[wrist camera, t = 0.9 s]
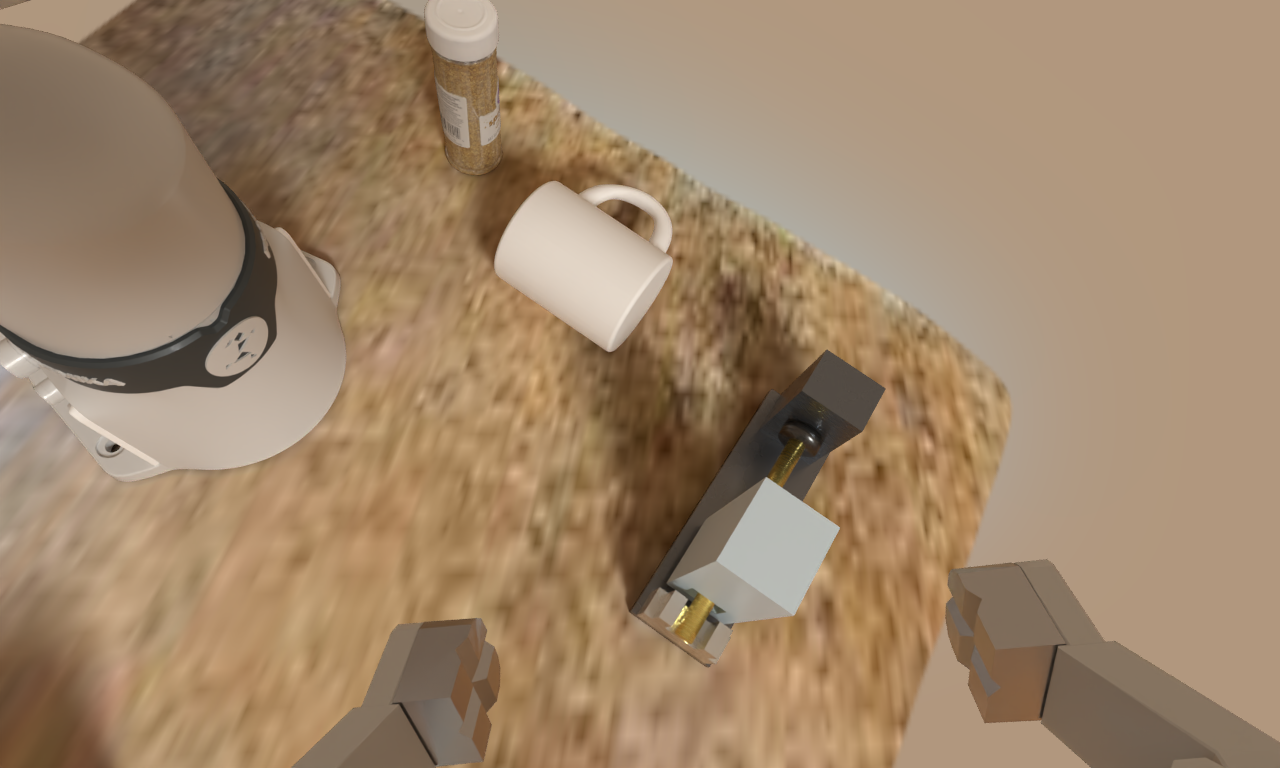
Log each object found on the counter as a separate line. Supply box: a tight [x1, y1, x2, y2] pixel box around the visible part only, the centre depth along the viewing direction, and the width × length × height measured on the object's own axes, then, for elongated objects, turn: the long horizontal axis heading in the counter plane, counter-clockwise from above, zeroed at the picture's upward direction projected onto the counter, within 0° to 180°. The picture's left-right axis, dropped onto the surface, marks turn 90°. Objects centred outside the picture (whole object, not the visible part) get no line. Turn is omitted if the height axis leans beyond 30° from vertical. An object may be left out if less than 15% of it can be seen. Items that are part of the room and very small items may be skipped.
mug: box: [494, 181, 673, 352], centre depth 49 cm, size 12×10×8 cm
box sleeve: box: [666, 477, 840, 624], centre depth 39 cm, size 4×5×12 cm
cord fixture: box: [630, 350, 885, 667], centre depth 44 cm, size 6×19×9 cm, turn 146°
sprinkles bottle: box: [424, 0, 503, 175], centre depth 49 cm, size 5×5×13 cm
